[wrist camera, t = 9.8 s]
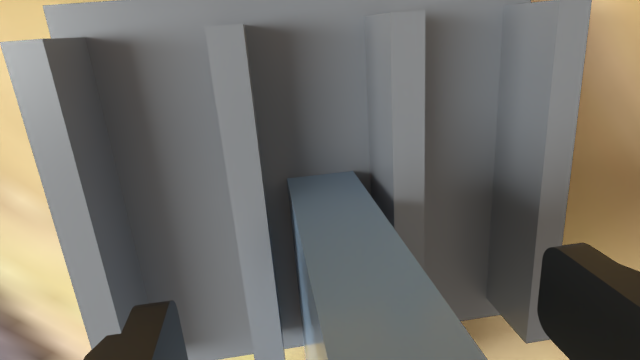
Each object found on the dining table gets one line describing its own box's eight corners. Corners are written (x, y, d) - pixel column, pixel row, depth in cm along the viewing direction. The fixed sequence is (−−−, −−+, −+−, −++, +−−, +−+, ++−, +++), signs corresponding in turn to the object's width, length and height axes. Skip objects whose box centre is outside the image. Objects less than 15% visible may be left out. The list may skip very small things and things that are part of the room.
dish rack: (62, 7, 15) (-14, -2, 11) (509, -23, 17) (596, -42, 12) (146, 347, 19) (117, 435, 15) (489, 295, 21) (547, 360, 17)
